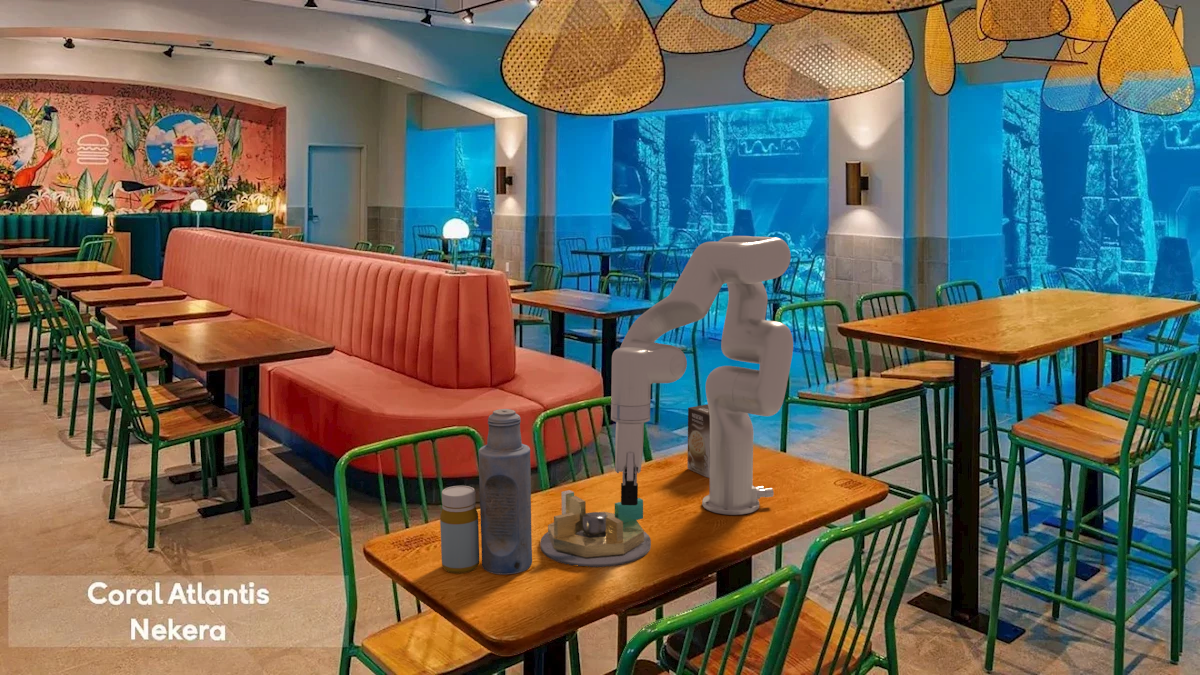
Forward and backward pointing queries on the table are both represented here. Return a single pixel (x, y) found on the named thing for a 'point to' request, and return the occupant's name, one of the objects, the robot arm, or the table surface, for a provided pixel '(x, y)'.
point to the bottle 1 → (459, 530)
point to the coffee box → (699, 440)
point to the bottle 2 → (505, 496)
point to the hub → (592, 528)
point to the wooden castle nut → (618, 540)
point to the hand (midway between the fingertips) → (629, 503)
